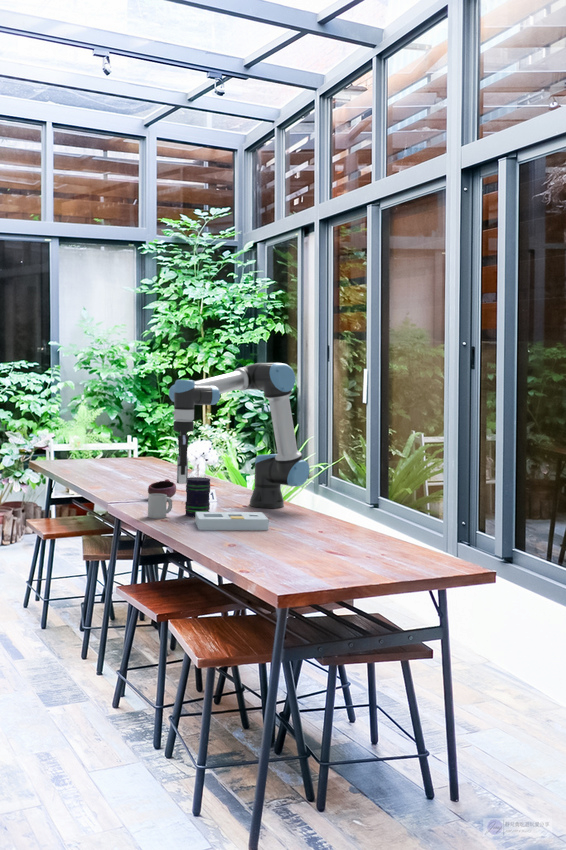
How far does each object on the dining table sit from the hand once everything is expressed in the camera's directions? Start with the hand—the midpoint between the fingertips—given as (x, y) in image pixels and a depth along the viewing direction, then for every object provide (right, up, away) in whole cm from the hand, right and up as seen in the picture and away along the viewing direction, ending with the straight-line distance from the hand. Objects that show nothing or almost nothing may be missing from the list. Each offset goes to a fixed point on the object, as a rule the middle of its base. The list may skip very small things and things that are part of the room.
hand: (182, 482), depth 307 cm
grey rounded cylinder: (0, 0, 0) cm, 0 cm away
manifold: (+18, -17, +1) cm, 25 cm away
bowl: (-17, -12, +62) cm, 65 cm away
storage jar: (+3, -15, +22) cm, 27 cm away
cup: (-11, -15, +15) cm, 24 cm away
